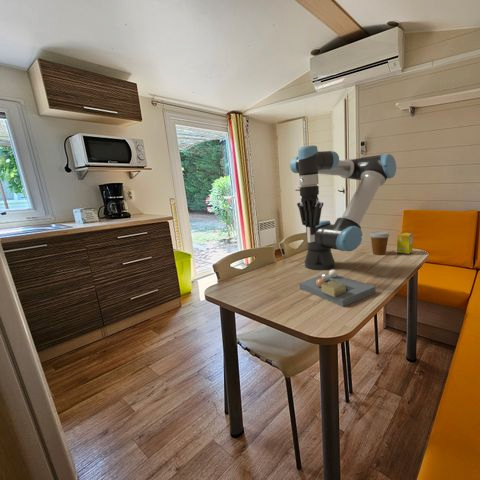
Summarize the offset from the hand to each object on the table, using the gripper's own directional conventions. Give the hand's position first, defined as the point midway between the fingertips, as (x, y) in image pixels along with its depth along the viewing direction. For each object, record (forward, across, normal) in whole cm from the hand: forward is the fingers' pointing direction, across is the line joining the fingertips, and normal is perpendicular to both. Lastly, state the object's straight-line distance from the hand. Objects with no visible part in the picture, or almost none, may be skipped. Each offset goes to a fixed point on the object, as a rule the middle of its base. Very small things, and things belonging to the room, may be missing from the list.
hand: (311, 241), depth 112 cm
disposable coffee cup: (+19, -5, +57) cm, 60 cm away
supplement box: (+19, +3, +66) cm, 69 cm away
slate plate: (+18, +13, 0) cm, 22 cm away
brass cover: (+15, +18, -7) cm, 24 cm away
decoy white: (+14, +7, +5) cm, 16 cm away
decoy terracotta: (+14, +11, -6) cm, 19 cm away
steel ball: (+14, +8, 0) cm, 16 cm away
